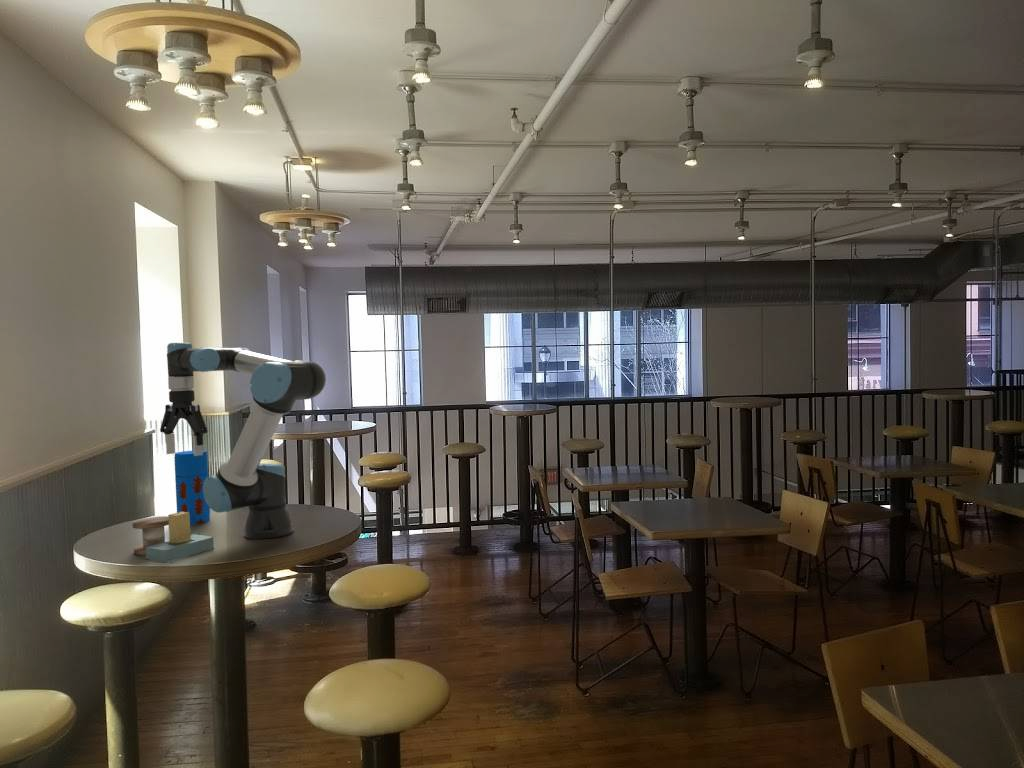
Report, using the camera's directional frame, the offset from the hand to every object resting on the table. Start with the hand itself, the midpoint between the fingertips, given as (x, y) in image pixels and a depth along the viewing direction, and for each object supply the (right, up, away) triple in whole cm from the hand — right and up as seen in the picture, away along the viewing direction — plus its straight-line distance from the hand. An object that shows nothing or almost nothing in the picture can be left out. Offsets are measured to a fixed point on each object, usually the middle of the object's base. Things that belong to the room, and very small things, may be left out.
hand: (184, 454), depth 230 cm
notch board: (+9, -27, -21) cm, 36 cm away
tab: (+9, -27, -21) cm, 36 cm away
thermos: (-7, -26, +21) cm, 35 cm away
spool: (-1, -28, -17) cm, 32 cm away
